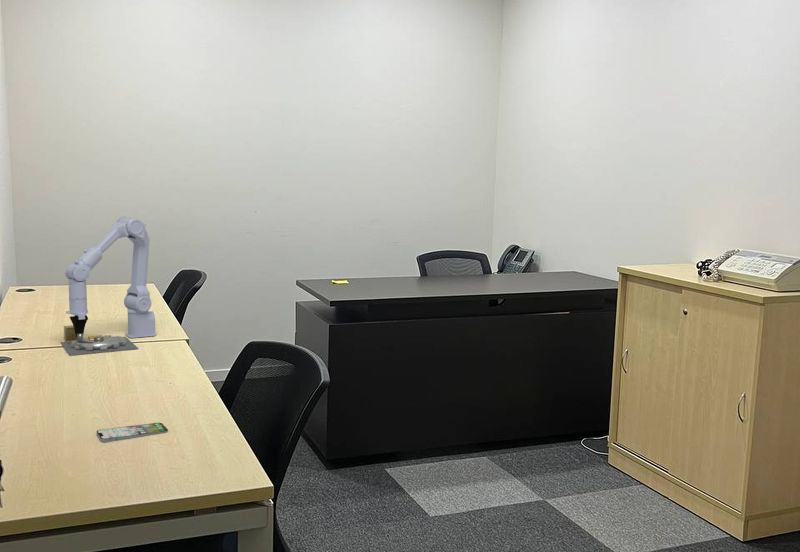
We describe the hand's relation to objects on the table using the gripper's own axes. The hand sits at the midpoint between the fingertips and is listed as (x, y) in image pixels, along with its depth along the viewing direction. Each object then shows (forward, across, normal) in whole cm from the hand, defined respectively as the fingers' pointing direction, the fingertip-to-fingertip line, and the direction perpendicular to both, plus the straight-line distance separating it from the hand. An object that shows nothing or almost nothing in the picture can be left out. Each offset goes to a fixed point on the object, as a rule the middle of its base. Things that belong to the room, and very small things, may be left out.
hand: (79, 336), depth 268 cm
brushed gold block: (+3, -9, -2) cm, 10 cm away
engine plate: (+3, +6, +5) cm, 8 cm away
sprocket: (+3, +6, +5) cm, 8 cm away
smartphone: (+4, +103, -4) cm, 103 cm away
